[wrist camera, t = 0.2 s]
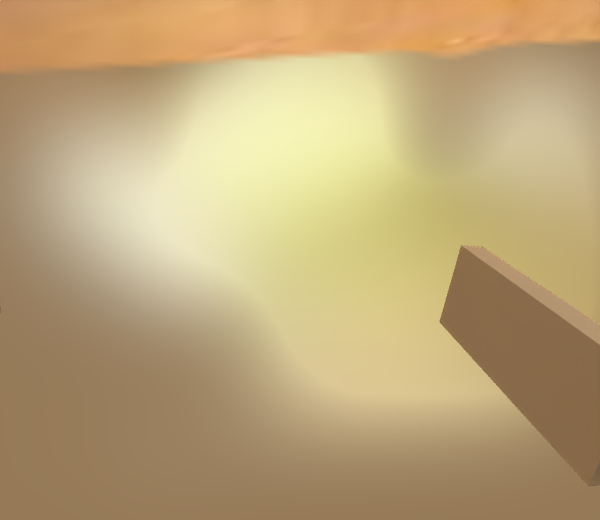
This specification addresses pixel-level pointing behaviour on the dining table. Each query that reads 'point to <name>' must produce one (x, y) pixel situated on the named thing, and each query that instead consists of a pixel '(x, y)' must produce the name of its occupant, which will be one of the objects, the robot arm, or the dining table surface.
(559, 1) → the dining table surface
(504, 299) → the robot arm
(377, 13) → the dining table surface
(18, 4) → the dining table surface
